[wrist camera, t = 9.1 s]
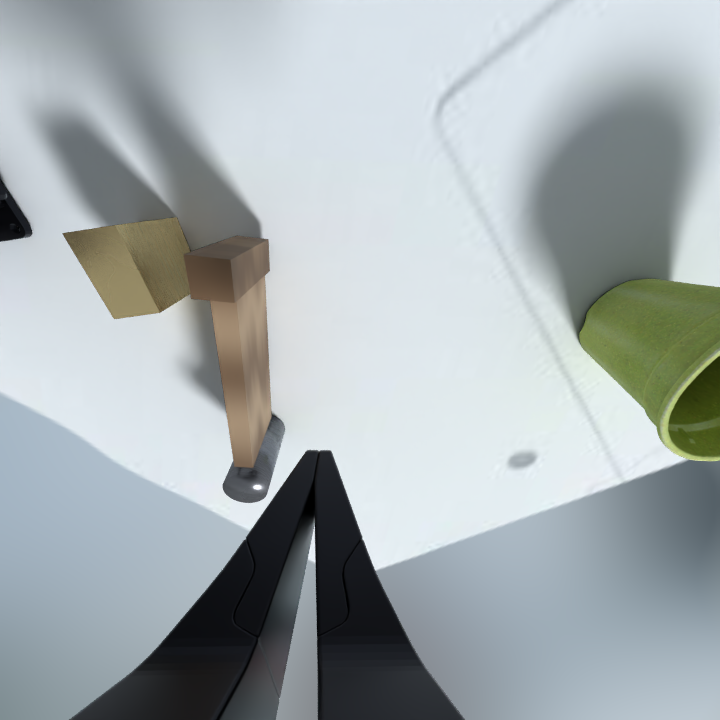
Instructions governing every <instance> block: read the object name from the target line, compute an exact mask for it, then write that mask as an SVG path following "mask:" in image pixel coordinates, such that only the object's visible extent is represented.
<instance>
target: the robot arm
mask: <svg viewBox="0 0 720 720" xmlns="http://www.w3.org/2000/svg"><path fill="white" fill-rule="evenodd" d="M17 226H18V227H19V228H20V230H19V229H18V228H17ZM31 235H32V229H31V227H30V226H29V224H28V223H27V221H26V219H25V218H24V216H23V215H22V213H21V212H20V210H19V209H18V207H17V206H16V204H15V202H14V201H13V199H12V198H11V196H10V195H9V193H8V192H7V190H6V189H5V187H4V186H3V184H2V182H1V181H0V242H1V241H8V240H14V239H21V238H27V237H30V236H31ZM314 524H315V555H316V603H317V655H318V656H317V658H318V720H465V719H464V718H463V717H462V715H461V714H460V712H459V711H458V710H457V709H456V707H455V706H454V704H453V703H452V702H451V700H450V699H449V698H448V697H447V695H446V694H445V693H444V691H443V690H442V689H441V687H440V686H439V685H438V683H437V682H436V681H435V679H434V678H433V677H432V675H431V674H430V673H429V671H428V670H427V669H426V667H425V666H424V664H423V663H422V661H421V660H420V658H419V656H418V654H417V653H416V651H415V649H414V648H413V646H412V644H411V642H410V640H409V638H408V636H407V635H406V633H405V631H404V629H403V627H402V625H401V623H400V621H399V619H398V617H397V615H396V613H395V611H394V609H393V607H392V605H391V603H390V601H389V599H388V597H387V595H386V593H385V591H384V589H383V587H382V584H381V582H380V580H379V578H378V576H377V574H376V571H375V569H374V567H373V564H372V562H371V559H370V556H369V554H368V551H367V549H366V546H365V543H364V540H362V535H361V532H360V530H359V527H358V524H357V521H356V518H355V516H354V513H353V510H352V507H351V504H350V502H349V499H348V496H347V493H346V490H345V488H344V485H343V482H342V479H341V476H340V474H339V471H338V468H337V465H336V463H335V460H334V457H333V454H332V452H331V451H330V450H321V451H318V450H307V451H306V452H305V454H304V455H303V457H302V458H301V459H300V461H299V462H298V464H297V465H296V467H295V468H294V469H293V471H292V472H291V474H290V475H289V477H288V478H287V479H286V481H285V482H284V484H283V485H282V487H281V488H280V489H279V491H278V492H277V494H276V495H275V497H274V498H273V499H272V501H271V502H270V504H269V505H268V507H267V508H266V509H265V511H264V512H263V514H262V515H261V517H260V518H259V519H258V521H257V522H256V524H255V525H254V527H253V528H252V529H251V531H250V532H249V534H248V535H247V537H246V540H244V541H243V542H242V544H241V545H240V546H239V548H238V549H237V551H236V552H235V553H234V555H233V556H232V558H231V559H230V561H229V562H228V563H227V564H226V566H225V567H224V568H223V570H222V571H221V572H220V573H219V575H218V576H217V577H216V579H215V580H214V581H213V582H212V583H211V585H210V586H209V587H208V588H207V590H206V591H205V592H204V593H203V594H202V595H201V597H200V598H199V599H198V600H197V601H196V602H195V604H194V605H193V606H192V607H191V609H190V610H189V611H188V612H187V613H186V614H185V616H184V617H183V618H182V619H181V620H180V622H179V623H178V624H177V625H176V626H175V627H174V628H173V630H172V631H171V632H170V633H169V635H168V636H167V637H166V638H165V639H164V640H163V641H162V643H161V644H160V645H159V646H158V647H157V648H156V649H155V650H154V651H153V652H152V654H151V655H150V656H149V657H148V658H146V660H144V661H143V662H142V663H141V664H140V665H139V666H138V667H137V668H136V669H134V670H133V671H132V672H131V673H130V674H129V675H127V676H126V677H125V678H123V679H122V680H121V681H119V682H118V683H117V684H115V685H114V686H113V687H112V688H110V689H109V690H108V691H106V692H105V693H104V694H102V695H101V696H100V697H98V698H97V699H96V700H94V701H93V702H92V703H90V704H89V705H88V706H87V707H85V708H84V709H83V710H81V711H80V712H79V713H78V714H76V715H75V716H73V717H72V718H71V719H69V720H276V715H277V710H278V704H279V698H280V694H281V689H282V684H283V679H284V674H285V669H286V664H287V659H288V654H289V649H290V644H291V639H292V634H293V629H294V624H295V619H296V614H297V609H298V604H299V599H300V594H301V589H302V584H303V579H304V574H305V569H306V564H307V559H308V554H309V549H310V544H311V539H312V534H313V529H314Z"/></svg>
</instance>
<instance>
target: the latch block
mask: <svg viewBox="0 0 720 720" xmlns="http://www.w3.org/2000/svg"><path fill="white" fill-rule="evenodd" d="M62 234H63V235H64V237H65V239H66V240H67V242H68V244H69V245H70V247H71V249H72V250H73V252H74V254H75V255H76V257H77V259H78V260H79V262H80V264H81V265H82V267H83V269H84V270H85V272H86V274H87V275H88V277H89V278H90V280H91V282H92V283H93V285H94V287H95V288H96V290H97V292H98V293H99V295H100V297H101V298H102V300H103V302H104V303H105V305H106V307H107V308H108V310H109V312H110V313H111V315H112V317H113V318H114V319H119V318H126V317H133V316H140V315H147V314H154V313H160V312H162V311H164V310H165V309H167V308H168V307H170V306H172V305H173V304H175V303H177V302H178V301H180V300H181V299H183V298H185V297H186V296H188V295H190V289H189V283H188V277H187V272H186V266H185V261H184V255H183V254H186V253H189V252H191V251H190V249H189V246H188V244H187V241H186V239H185V236H184V234H183V231H182V229H181V227H180V224H179V222H178V219H177V217H175V218H167V219H159V220H151V221H144V222H136V223H128V224H120V225H113V226H107V227H100V228H94V229H87V230H81V231H74V232H68V233H62Z"/></svg>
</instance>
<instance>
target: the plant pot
mask: <svg viewBox="0 0 720 720" xmlns="http://www.w3.org/2000/svg"><path fill="white" fill-rule="evenodd" d="M579 339H580V343H581V346H582V348H583V349H584V350H585V351H586V352H587V353H588V354H589V355H590V356H591V357H592V358H593V359H594V360H595V361H596V362H597V363H598V364H599V365H600V366H601V367H602V368H603V369H604V370H605V371H606V372H607V373H608V374H609V375H610V376H611V377H612V378H613V379H614V380H616V381H617V382H618V383H619V384H620V385H621V386H622V387H623V388H624V389H625V390H626V391H627V392H628V393H629V394H630V395H631V396H632V397H633V398H634V399H635V400H636V401H637V402H638V403H639V404H640V405H641V406H642V407H643V408H644V409H645V412H646V414H647V416H648V417H649V419H650V420H651V421H652V422H653V423H654V425H655V426H656V427H657V432H658V435H659V438H660V439H661V441H662V442H663V444H664V445H665V446H666V447H667V448H668V449H669V450H670V451H672V452H673V453H675V454H676V455H679V456H681V457H683V458H686V459H690V460H697V461H719V460H720V287H714V286H705V285H697V284H689V283H682V282H674V281H666V280H659V279H640V280H632V281H628V282H625V283H623V284H620V285H618V286H616V287H615V288H613V289H611V290H610V291H608V292H607V293H605V294H604V295H603V296H602V297H601V298H599V299H598V300H597V301H596V302H595V303H594V304H593V306H592V307H591V308H590V309H589V311H588V312H587V314H586V320H585V323H584V326H583V328H582V330H581V331H580V333H579Z"/></svg>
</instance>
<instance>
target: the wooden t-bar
mask: <svg viewBox="0 0 720 720" xmlns="http://www.w3.org/2000/svg"><path fill="white" fill-rule="evenodd" d="M183 255H184V261H185V266H186V272H187V277H188V283H189V289H190V294H191V299H199V300H209V301H210V304H211V311H212V317H213V324H214V331H215V338H216V345H217V351H218V358H219V365H220V372H221V379H222V385H223V392H224V399H225V406H226V413H227V419H228V426H229V433H230V440H231V447H232V453H233V460H234V467H249V468H253V467H254V464H255V461H256V458H257V456H258V453H259V450H260V447H261V445H262V442H263V439H264V436H265V433H266V431H267V428H268V425H269V422H270V420H271V396H270V375H269V354H268V332H267V311H266V290H265V275H266V274H267V273H268V272H269V271H270V268H269V242H268V239H261V238H253V237H244V236H234V237H231V238H228V239H225V240H223V241H220V242H217V243H214V244H211V245H208V246H206V247H203V248H200V249H197V250H194V251H192V252H189V253H186V254H183Z"/></svg>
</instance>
